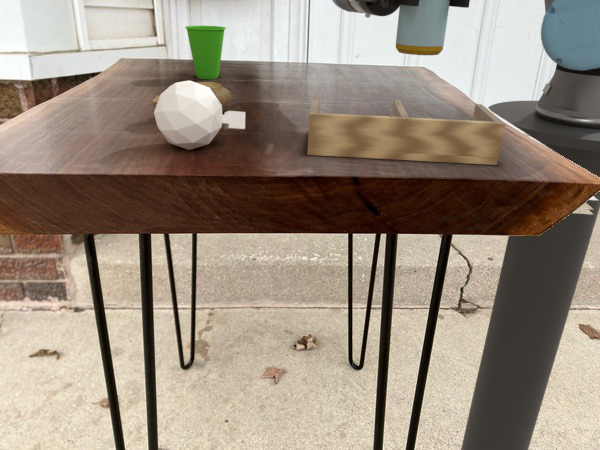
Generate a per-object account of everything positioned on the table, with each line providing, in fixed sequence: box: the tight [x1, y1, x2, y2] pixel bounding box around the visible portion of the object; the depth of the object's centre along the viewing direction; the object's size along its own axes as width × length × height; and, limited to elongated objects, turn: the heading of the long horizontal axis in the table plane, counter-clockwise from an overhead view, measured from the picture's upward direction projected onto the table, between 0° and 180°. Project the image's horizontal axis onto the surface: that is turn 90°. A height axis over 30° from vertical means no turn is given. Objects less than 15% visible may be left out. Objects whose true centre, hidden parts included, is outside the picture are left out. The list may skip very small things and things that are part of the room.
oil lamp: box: [151, 81, 232, 110], centre depth 86 cm, size 11×14×5 cm
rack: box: [306, 95, 506, 166], centre depth 74 cm, size 25×12×6 cm, turn 86°
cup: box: [185, 25, 227, 80], centre depth 121 cm, size 9×9×11 cm
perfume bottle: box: [153, 79, 246, 151], centre depth 71 cm, size 9×9×12 cm
